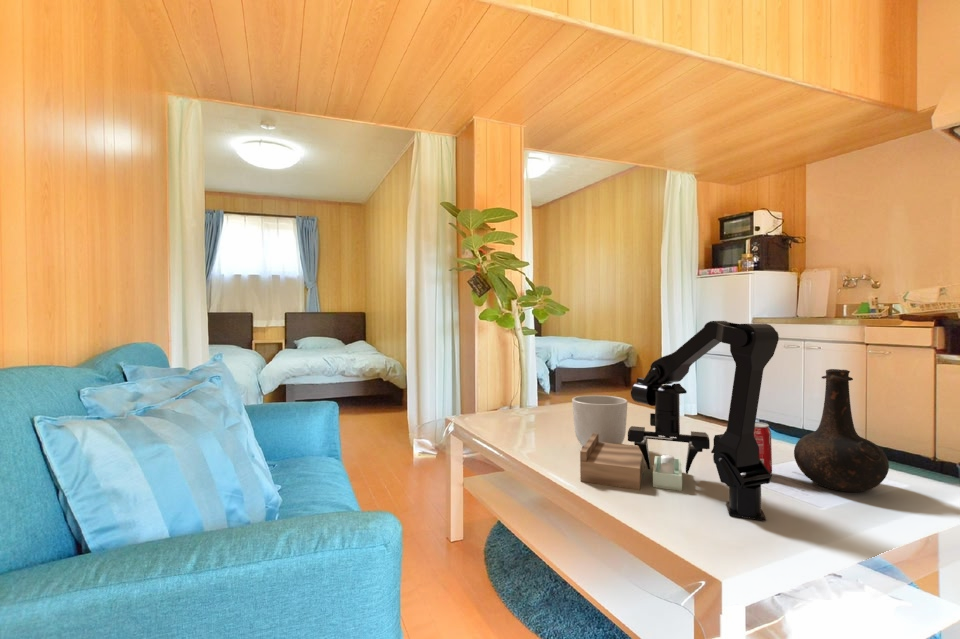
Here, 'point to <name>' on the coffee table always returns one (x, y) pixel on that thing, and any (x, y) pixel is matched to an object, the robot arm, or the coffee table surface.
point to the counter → (611, 463)
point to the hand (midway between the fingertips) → (667, 471)
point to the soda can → (764, 444)
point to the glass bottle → (840, 445)
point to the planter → (600, 418)
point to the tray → (667, 477)
